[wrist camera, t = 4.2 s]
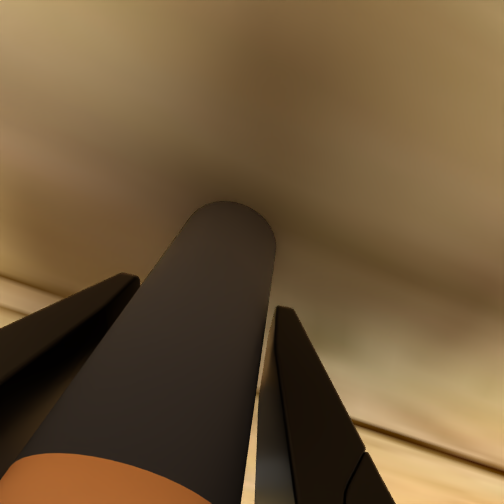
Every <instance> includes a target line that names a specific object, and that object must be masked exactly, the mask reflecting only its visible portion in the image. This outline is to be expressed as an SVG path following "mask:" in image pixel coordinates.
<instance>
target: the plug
mask: <svg viewBox="0 0 504 504" xmlns="http://www.w3.org/2000/svg"><path fill="white" fill-rule="evenodd" d="M275 252H276V242H275V237H274V234H273V232H272V230H271V228H270V226H269V224H268V223H267V222H266V221H265V219H264V218H263V217H262V216H261V215H260V214H258V213H257V212H256V211H254V210H253V209H251V208H249V207H247V206H244V205H242V204H238V203H235V202H215V203H211V204H208V205H205V206H203V207H201V208H200V209H198V210H197V211H196V212H194V214H193V215H192V216H191V217H190V218H189V220H188V221H187V222H186V224H185V225H184V227H183V228H182V229H181V231H180V232H179V233H178V235H177V236H176V238H175V239H174V240H173V242H172V243H171V245H170V246H169V247H168V249H167V250H166V251H165V253H164V254H163V256H162V257H161V258H160V260H159V261H158V263H157V264H156V265H155V267H154V268H153V269H152V271H151V272H150V274H149V275H148V276H147V278H146V279H145V281H144V282H143V283H142V285H141V286H140V287H139V289H138V290H137V292H136V293H135V294H134V296H133V297H132V299H131V300H130V301H129V303H128V304H127V305H126V307H125V308H124V310H123V311H122V312H121V314H120V315H119V317H118V318H117V319H116V321H115V322H114V323H113V325H112V326H111V328H110V329H109V330H108V332H107V333H106V335H105V336H104V337H103V339H102V340H101V341H100V343H99V344H98V346H97V347H96V348H95V350H94V351H93V353H92V354H91V355H90V357H89V358H88V359H87V361H86V362H85V364H84V365H83V366H82V368H81V369H80V371H79V372H78V373H77V375H76V376H75V377H74V379H73V380H72V382H71V383H70V384H69V386H68V387H67V389H66V390H65V391H64V393H63V394H62V395H61V397H60V398H59V400H58V401H57V402H56V404H55V405H54V407H53V408H52V409H51V411H50V412H49V413H48V415H47V416H46V418H45V419H44V420H43V422H42V423H41V424H40V426H39V427H38V429H37V430H36V431H35V433H34V434H33V436H32V437H31V438H30V440H29V441H28V442H27V444H26V445H25V447H24V448H23V449H22V451H21V452H20V454H19V455H18V456H17V458H16V459H15V460H14V462H13V463H12V465H11V466H10V467H9V469H8V470H7V472H6V473H5V474H4V476H3V477H2V478H1V480H0V504H241V497H242V490H243V483H244V476H245V468H246V461H247V454H248V447H249V439H250V432H251V425H252V418H253V411H254V403H255V396H256V389H257V382H258V375H259V367H260V360H261V353H262V346H263V339H264V331H265V324H266V317H267V310H268V303H269V295H270V288H271V281H272V274H273V267H274V259H275Z"/></svg>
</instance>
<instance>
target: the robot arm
mask: <svg viewBox="0 0 504 504" xmlns="http://www.w3.org/2000/svg"><path fill="white" fill-rule="evenodd" d="M139 287H140V279H139V277H138V276H136V275H132V274H127V273H120V274H117V275H115V276H113V277H111V278H108V279H106V280H104V281H102V282H100V283H98V284H95V285H93V286H91V287H89V288H87V289H85V290H82V291H80V292H78V293H76V294H74V295H72V296H69V297H67V298H65V299H63V300H61V301H59V302H56V303H54V304H52V305H50V306H48V307H46V308H43V309H41V310H39V311H37V312H35V313H33V314H30V315H28V316H26V317H24V318H22V319H20V320H17V321H15V322H13V323H11V324H9V325H7V326H4V327H2V328H0V480H1V478H2V477H3V476H4V474H5V473H6V472H7V470H8V469H9V467H10V466H11V465H12V463H13V462H14V460H15V459H16V458H17V456H18V455H19V454H20V452H21V451H22V449H23V448H24V447H25V445H26V444H27V442H28V441H29V440H30V438H31V437H32V436H33V434H34V433H35V431H36V430H37V429H38V427H39V426H40V424H41V423H42V422H43V420H44V419H45V418H46V416H47V415H48V413H49V412H50V411H51V409H52V408H53V407H54V405H55V404H56V402H57V401H58V400H59V398H60V397H61V395H62V394H63V393H64V391H65V390H66V389H67V387H68V386H69V384H70V383H71V382H72V380H73V379H74V377H75V376H76V375H77V373H78V372H79V371H80V369H81V368H82V366H83V365H84V364H85V362H86V361H87V359H88V358H89V357H90V355H91V354H92V353H93V351H94V350H95V348H96V347H97V346H98V344H99V343H100V341H101V340H102V339H103V337H104V336H105V335H106V333H107V332H108V330H109V329H110V328H111V326H112V325H113V323H114V322H115V321H116V319H117V318H118V317H119V315H120V314H121V312H122V311H123V310H124V308H125V307H126V305H127V304H128V303H129V301H130V300H131V299H132V297H133V296H134V294H135V293H136V292H137V290H138V289H139ZM365 450H366V448H365V445H364V443H363V441H362V440H361V438H360V436H359V434H358V432H357V430H356V428H355V426H354V424H353V422H352V420H351V418H350V416H349V415H348V413H347V411H346V409H345V407H344V405H343V403H342V401H341V399H340V397H339V395H338V393H337V391H336V390H335V388H334V386H333V384H332V382H331V380H330V378H329V376H328V374H327V372H326V370H325V368H324V366H323V364H322V363H321V361H320V359H319V357H318V355H317V353H316V351H315V349H314V347H313V345H312V343H311V341H310V339H309V338H308V336H307V334H306V332H305V330H304V328H303V326H302V324H301V322H300V320H299V318H298V316H297V314H296V313H295V311H294V309H292V308H289V307H284V306H280V305H278V306H276V308H275V311H274V315H273V319H272V323H271V327H270V330H269V335H268V341H267V348H266V354H265V360H264V367H263V373H262V379H261V386H260V393H259V404H258V426H257V453H256V480H255V504H396V503H395V502H394V500H393V498H392V496H391V494H390V492H389V491H388V489H387V487H386V485H385V483H384V481H383V480H382V478H381V476H380V474H379V472H378V470H377V468H376V466H375V464H374V462H373V460H372V458H371V457H370V455H369V453H368V452H365Z"/></svg>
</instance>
